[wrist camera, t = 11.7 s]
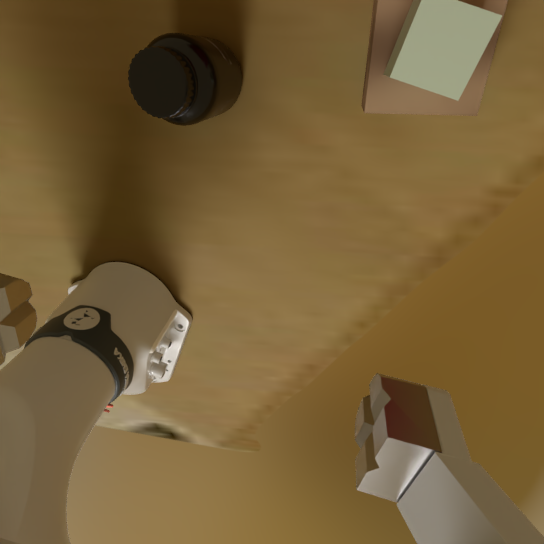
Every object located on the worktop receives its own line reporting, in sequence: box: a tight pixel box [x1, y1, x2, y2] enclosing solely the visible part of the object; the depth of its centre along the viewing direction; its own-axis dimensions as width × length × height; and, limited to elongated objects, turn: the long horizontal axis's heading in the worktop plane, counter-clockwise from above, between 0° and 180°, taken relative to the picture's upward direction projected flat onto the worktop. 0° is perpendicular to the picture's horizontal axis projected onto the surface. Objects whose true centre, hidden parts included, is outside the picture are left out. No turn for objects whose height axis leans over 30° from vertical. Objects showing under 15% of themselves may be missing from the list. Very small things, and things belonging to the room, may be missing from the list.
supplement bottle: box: [128, 33, 242, 126], centre depth 32 cm, size 7×7×12 cm
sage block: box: [383, 0, 502, 101], centre depth 26 cm, size 5×5×5 cm
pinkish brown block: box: [362, 0, 508, 116], centre depth 31 cm, size 9×9×6 cm
